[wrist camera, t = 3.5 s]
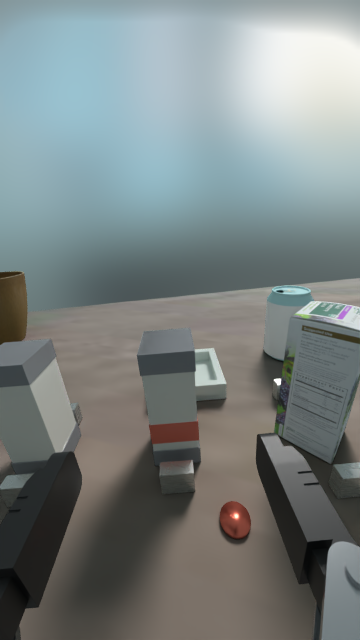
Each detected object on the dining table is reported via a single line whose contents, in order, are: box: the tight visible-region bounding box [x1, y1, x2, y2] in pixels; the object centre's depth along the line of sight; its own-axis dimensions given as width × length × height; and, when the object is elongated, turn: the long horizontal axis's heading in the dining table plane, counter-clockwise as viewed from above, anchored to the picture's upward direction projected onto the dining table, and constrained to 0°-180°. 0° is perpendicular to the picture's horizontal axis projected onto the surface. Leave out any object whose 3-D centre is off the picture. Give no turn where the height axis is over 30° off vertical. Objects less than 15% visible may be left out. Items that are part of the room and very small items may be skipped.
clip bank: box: [0, 379, 360, 539], centre depth 24 cm, size 32×15×2 cm, turn 92°
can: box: [263, 286, 314, 361], centre depth 39 cm, size 7×7×12 cm
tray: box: [195, 348, 226, 401], centre depth 35 cm, size 10×10×2 cm
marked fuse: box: [137, 328, 201, 466], centre depth 23 cm, size 5×5×13 cm
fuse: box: [0, 339, 81, 475], centre depth 23 cm, size 5×5×13 cm
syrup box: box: [274, 301, 360, 464], centre depth 23 cm, size 6×6×14 cm
